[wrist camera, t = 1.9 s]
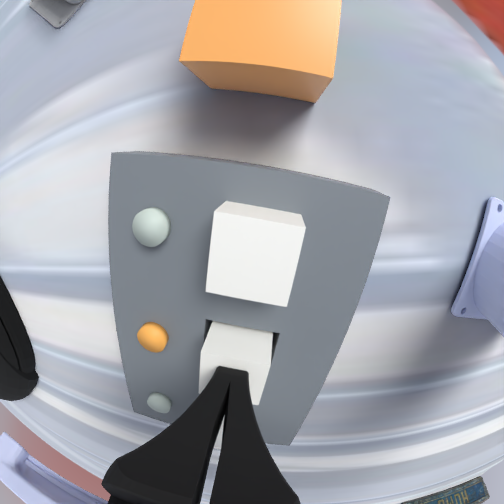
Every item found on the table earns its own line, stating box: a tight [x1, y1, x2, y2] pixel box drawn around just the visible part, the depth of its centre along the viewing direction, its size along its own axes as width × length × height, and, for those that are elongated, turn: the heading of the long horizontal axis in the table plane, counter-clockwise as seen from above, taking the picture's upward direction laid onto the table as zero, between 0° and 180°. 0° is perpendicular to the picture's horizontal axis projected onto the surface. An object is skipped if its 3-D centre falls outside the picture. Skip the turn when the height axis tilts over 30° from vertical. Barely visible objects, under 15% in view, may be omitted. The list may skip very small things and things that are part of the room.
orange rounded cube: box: [179, 0, 342, 103], centre depth 8 cm, size 5×5×4 cm
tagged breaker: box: [199, 321, 273, 405], centre depth 13 cm, size 3×3×3 cm
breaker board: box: [108, 151, 390, 450], centre depth 14 cm, size 12×18×4 cm, turn 171°
